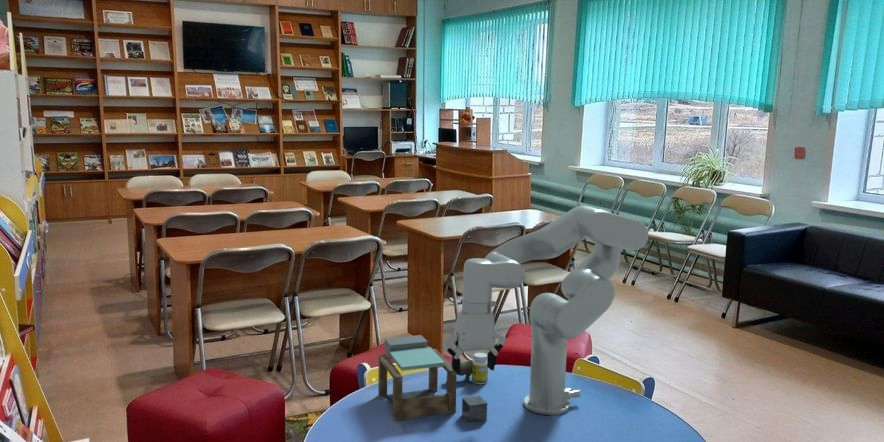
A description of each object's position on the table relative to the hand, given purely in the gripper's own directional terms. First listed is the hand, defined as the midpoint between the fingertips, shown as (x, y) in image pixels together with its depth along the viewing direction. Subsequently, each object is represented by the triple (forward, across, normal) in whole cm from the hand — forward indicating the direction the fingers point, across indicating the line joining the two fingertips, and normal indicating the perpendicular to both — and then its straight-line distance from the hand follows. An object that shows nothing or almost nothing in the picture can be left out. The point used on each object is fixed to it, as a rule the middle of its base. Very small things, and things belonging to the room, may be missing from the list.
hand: (473, 370), depth 179 cm
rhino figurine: (+13, -9, -25) cm, 29 cm away
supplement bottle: (+13, -12, -22) cm, 28 cm away
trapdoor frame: (+14, +11, -13) cm, 22 cm away
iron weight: (+13, -1, 0) cm, 13 cm away
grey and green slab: (+3, +11, -16) cm, 20 cm away
